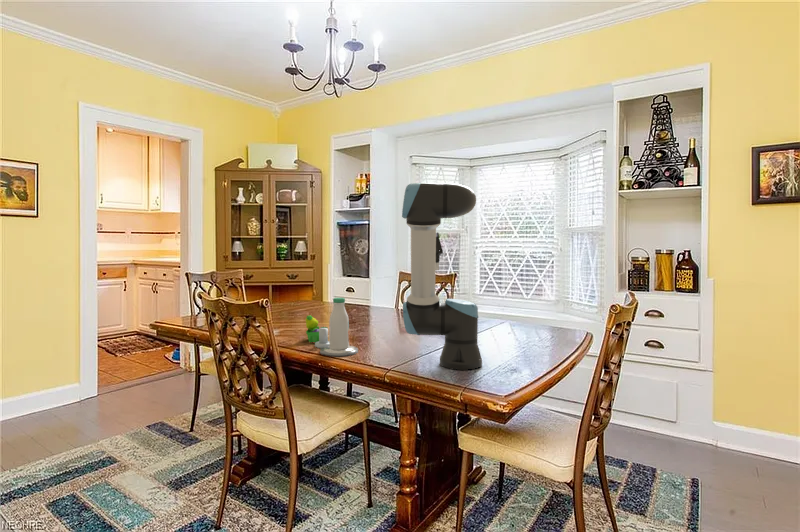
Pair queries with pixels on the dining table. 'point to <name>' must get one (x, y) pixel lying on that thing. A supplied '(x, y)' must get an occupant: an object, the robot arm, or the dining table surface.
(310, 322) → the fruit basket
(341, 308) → the milk bottle
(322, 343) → the small pipe fitting
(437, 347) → the dining table surface
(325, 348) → the grey plate
